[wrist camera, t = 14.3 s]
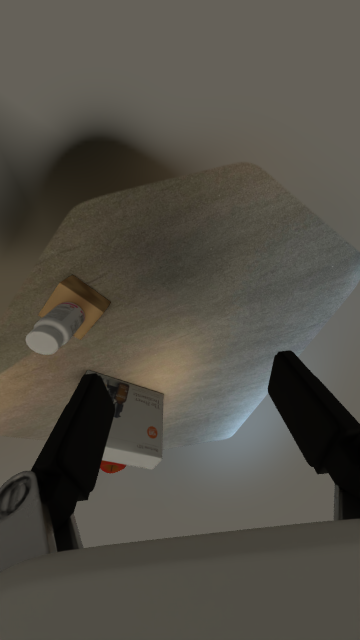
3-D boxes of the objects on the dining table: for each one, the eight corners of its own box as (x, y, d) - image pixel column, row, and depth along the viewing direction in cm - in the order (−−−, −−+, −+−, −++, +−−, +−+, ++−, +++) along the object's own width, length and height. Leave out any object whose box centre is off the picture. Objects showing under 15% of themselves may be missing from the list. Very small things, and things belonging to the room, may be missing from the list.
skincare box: (165, 392, 50) (163, 459, 36) (156, 403, 52) (152, 471, 38) (87, 367, 44) (50, 437, 30) (81, 381, 46) (44, 452, 32)
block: (52, 304, 35) (37, 315, 31) (72, 274, 32) (59, 282, 28) (89, 327, 38) (80, 340, 34) (111, 302, 35) (103, 312, 32)
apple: (132, 442, 62) (125, 481, 52) (99, 437, 59) (86, 478, 50) (140, 424, 57) (134, 465, 47) (104, 419, 54) (92, 460, 45)
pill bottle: (50, 311, 31) (13, 340, 24) (69, 296, 30) (36, 322, 22) (73, 329, 33) (46, 362, 26) (91, 316, 32) (68, 346, 24)
